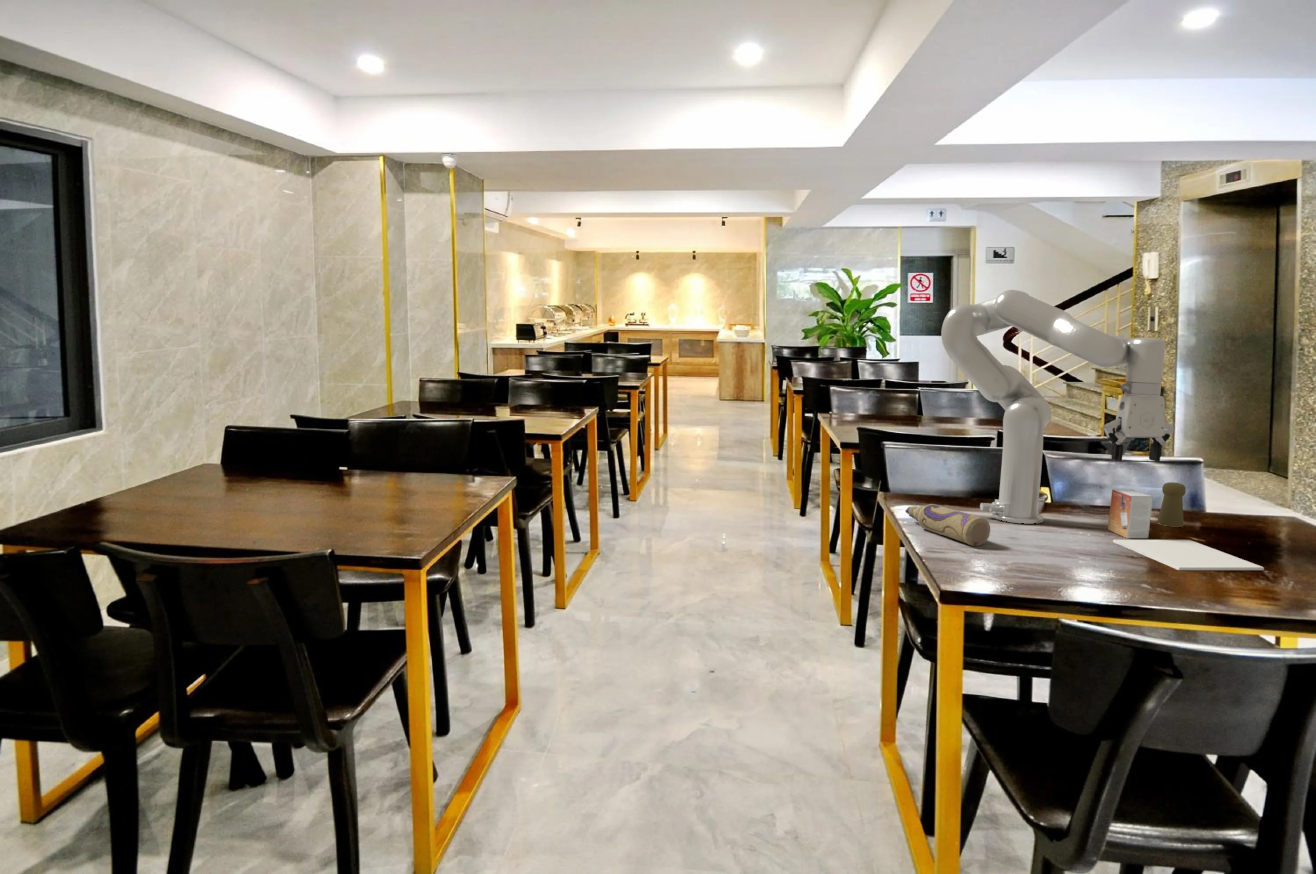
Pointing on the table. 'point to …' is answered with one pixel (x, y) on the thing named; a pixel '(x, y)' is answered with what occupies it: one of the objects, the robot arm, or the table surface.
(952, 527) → the decorative bottle
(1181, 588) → the table surface
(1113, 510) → the small box
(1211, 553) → the mat
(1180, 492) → the cork
